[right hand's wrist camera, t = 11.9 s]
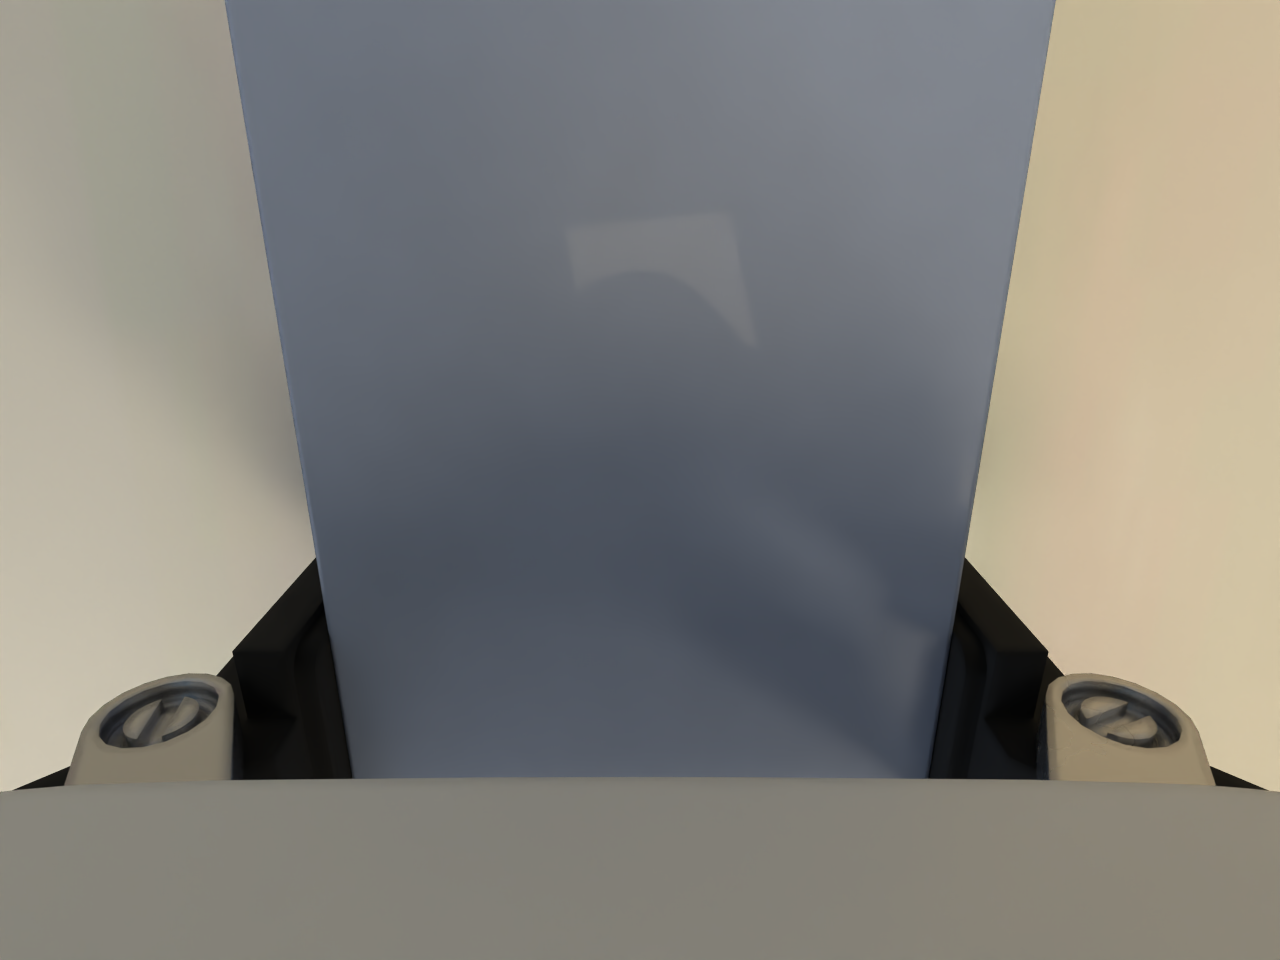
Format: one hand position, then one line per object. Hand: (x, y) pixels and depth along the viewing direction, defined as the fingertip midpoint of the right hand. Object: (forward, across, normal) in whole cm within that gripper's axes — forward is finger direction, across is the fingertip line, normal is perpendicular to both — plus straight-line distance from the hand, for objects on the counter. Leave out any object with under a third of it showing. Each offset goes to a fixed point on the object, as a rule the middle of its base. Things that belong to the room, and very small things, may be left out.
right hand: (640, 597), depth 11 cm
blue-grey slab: (+5, 0, -3) cm, 6 cm away
